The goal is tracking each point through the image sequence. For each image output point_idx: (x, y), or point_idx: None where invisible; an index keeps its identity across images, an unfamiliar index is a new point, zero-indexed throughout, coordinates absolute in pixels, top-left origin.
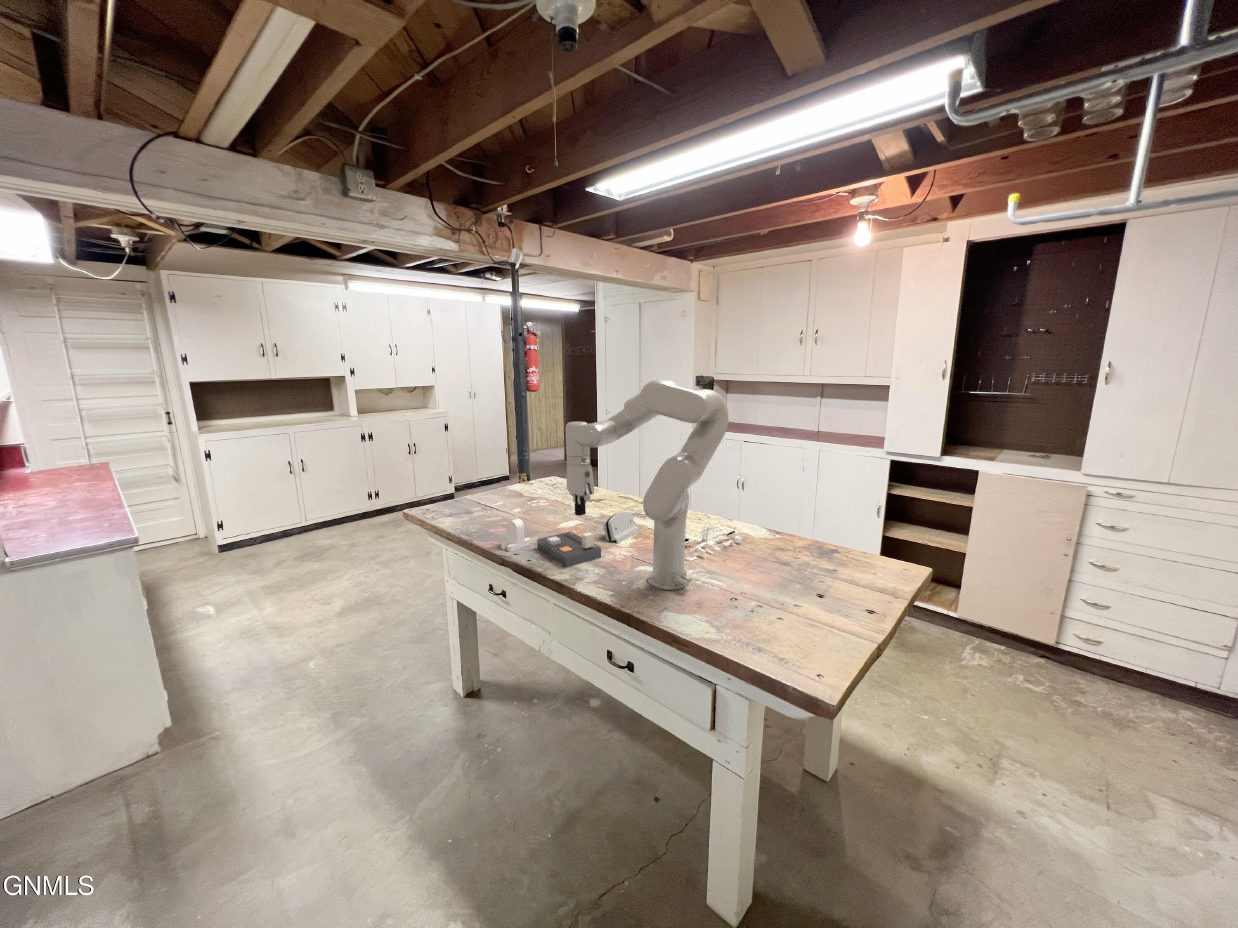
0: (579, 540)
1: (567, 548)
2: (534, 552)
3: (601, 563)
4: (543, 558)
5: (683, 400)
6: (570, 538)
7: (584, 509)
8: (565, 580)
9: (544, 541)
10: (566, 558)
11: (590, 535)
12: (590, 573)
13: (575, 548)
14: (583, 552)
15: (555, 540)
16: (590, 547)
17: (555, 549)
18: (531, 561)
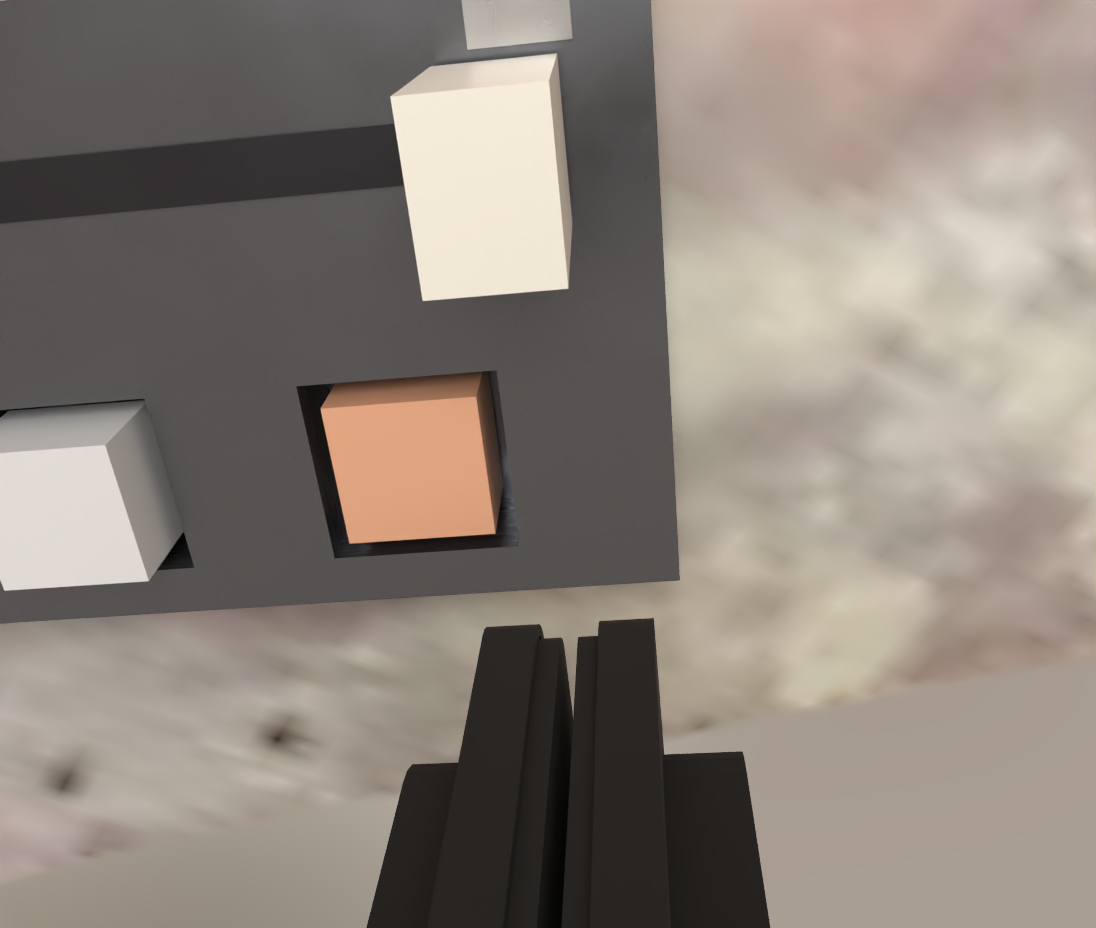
0: (143, 118)
1: (410, 448)
2: (80, 622)
3: (835, 55)
4: (294, 608)
5: None
6: (7, 218)
7: (754, 825)
8: (951, 644)
9: None
10: (677, 567)
11: (556, 167)
12: (998, 350)
13: (447, 338)
14: (659, 310)
15: (132, 530)
16: None
17: (350, 578)
18: (318, 727)
